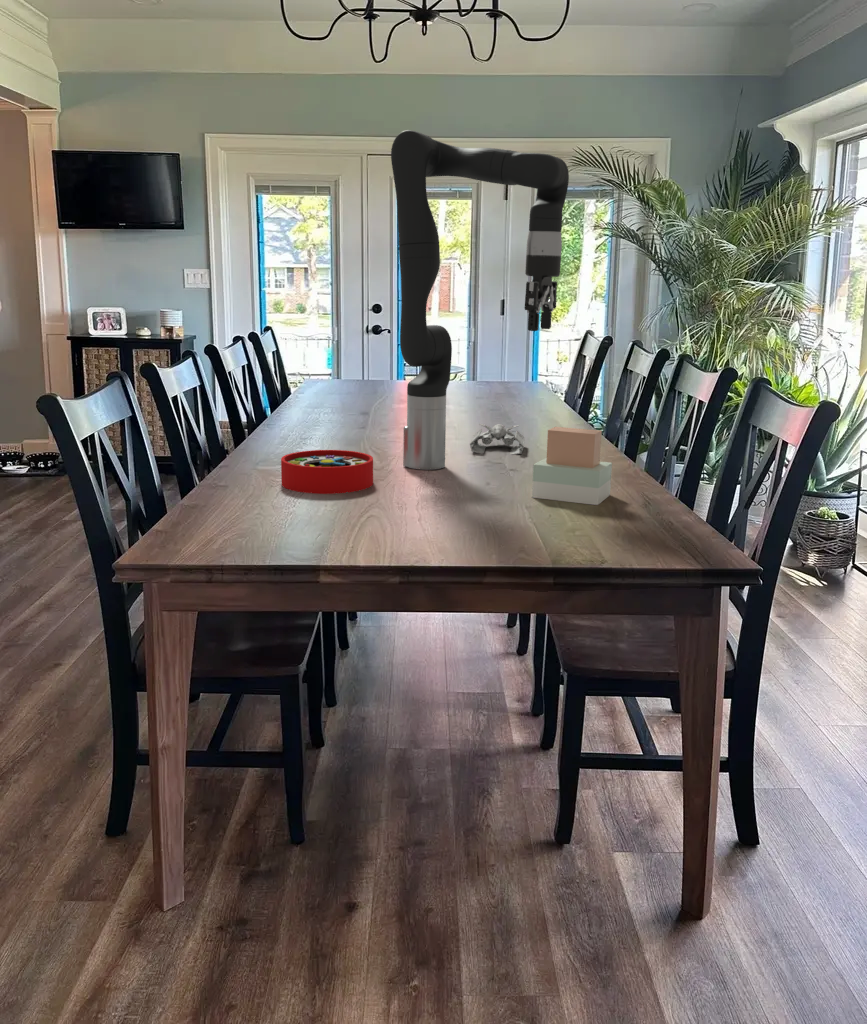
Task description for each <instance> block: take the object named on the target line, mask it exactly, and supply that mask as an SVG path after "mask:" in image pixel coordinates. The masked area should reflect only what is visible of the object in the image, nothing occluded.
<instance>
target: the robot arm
mask: <svg viewBox="0 0 867 1024" xmlns="http://www.w3.org/2000/svg"><path fill="white" fill-rule="evenodd" d="M390 150H391V151H390V159H391V161H390V162H391V168H392V169H391V170H392V174H393V180H394V188H395V189H394V190H395V194H396V195H395V196H396V209H397V211H396V212H397V227H398V228H397V230H398V254H399V256H398V257H399V268H400V270H399V271H400V289H401V290H400V292H401V294H400V297H401V298H400V299H401V302H400V303H401V306H400V308H401V310H400V311H401V312H400V332H399V333H400V335H399V344H400V346H399V347H400V351H401V355H402V358H403V360H404V362H405V363H406V364H407V365H408V366H411V367H420V371H419V372H418V375H416V376H415V377H414V378H413V379H412V380H410V381H409V382H408V383H407V387H406V388H407V389H406V390H407V391H406V394H407V395H406V399H407V400H406V425H405V426H403V441H402V442H403V445H402V446H403V450H402V451H403V452H402V454H403V457H402V458H403V459H402V460H403V463H402V464H403V467H407V468H410V469H413V470H423V471H424V470H426V471H429V470H440V469H443V468H445V467H446V435H447V434H446V432H447V431H446V430H447V429H446V427H447V426H446V425H447V418H446V416H447V389H448V386H449V384H450V381H451V370H452V369H451V368H452V354H453V353H452V352H453V346H452V339H451V335H450V333H449V332H448V329H446V328H445V327H444V326H442V325H437V324H436V325H435V324H432V325H431V324H430V325H428V324H427V307H428V306H427V304H428V301H429V296H430V294H431V291H432V288H433V286H434V284H435V282H436V280H437V276H438V274H439V271H440V265H441V255H440V254H441V253H440V251H441V249H440V238H439V231H438V228H437V225H436V224H437V223H436V222H435V219H434V216H433V213H432V211H431V210H432V209H431V206H430V203H429V199H428V194H427V178H433V177H459V178H465V179H469V180H471V179H472V180H476V181H480V182H485V183H491V184H492V183H493V184H497V185H503V186H504V185H506V186H523V187H526V188H532V189H536V197H535V202H534V203H533V205H531V207H530V211H529V222H528V224H529V225H528V235H527V240H526V254H525V255H526V256H525V271H524V272H525V275H526V276H527V277H532V281H530V280H529V281H526V284H525V296H524V297H525V299H524V307H523V308H524V311H527V313H528V317H527V318H528V319H527V321H528V322H527V330H528V331H529V332H537V331H539V324H540V329H541V330H551V327H552V315H553V313H552V312H554V309H556V308H557V293H558V292H557V291H558V289H557V288H558V281H553V278H557V277H560V275H561V264H562V263H561V262H562V251H563V250H562V249H563V248H562V247H563V245H562V244H563V241H562V229H563V228H562V227H563V209H564V205H565V202H566V198H567V194H568V193H567V192H568V187H569V181H570V179H569V178H570V175H569V168H568V165H567V164H566V162H565V161H564V160H563V159H561V157H557V156H554V155H551V154H549V153H548V154H547V153H538V152H537V153H536V152H519V151H517V150H511V149H510V150H509V149H503V148H502V149H501V148H492V147H462V146H461V147H460V146H455V145H451V144H447V143H444V142H442V141H440V140H439V141H438V140H436V139H434V138H432V137H431V136H429V135H426V134H425V133H422V132H419V131H416V130H411V129H407V130H402V131H401V132H400V133H399V134H397V135H396V136H395V138H394V139H393V143H392V145H391V148H390ZM540 312H541V313H540ZM540 315H541V316H540Z"/></svg>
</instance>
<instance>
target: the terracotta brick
mask: <svg viewBox="0 0 867 1024" xmlns="http://www.w3.org/2000/svg"><path fill="white" fill-rule="evenodd" d="M546 440H547V441H546V444H547V445H546V457H547V460H546V463H548V464H558V465H568V466H578V467H587V468H594V467H596V466H597V465H599V464H600V462H601V451H602V450H601V447H602V446H601V445H602V430H597V429H585V428H576V427H575V428H574V427H563V426H554V427H552V428H549V429H547V439H546Z"/></svg>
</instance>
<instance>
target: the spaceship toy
mask: <svg viewBox="0 0 867 1024" xmlns="http://www.w3.org/2000/svg"><path fill="white" fill-rule="evenodd" d="M478 425H479V426H481V427H485V428H486V429H487V431H485V432H482V431H483V429H482V428H481V429H479V430H478V431H477V432H476V433H475V434H474V435H473V436H472V438H471V441H470V442H469V446H470V451H471V452H472V453H477V454H481V455H482V454H484V453H485V450H486V447H487V445H490V444H491V443H492V442H494V440H498V441H500V442H503V443H504V445H506V446H512V445H514V441H517V442H518V443H519V444H517V445H516V446H515V445H514V446H512V447H510V453H509V455H510V456H511V455H513V456H517V455H522V453H523V450H524V447H525V441H526V437H525V436H524V435H522V434H521V432H519V431H518V430H516V431H515V433H513V432H511V431H512V429H514V428H516V427H519V426H520V425H519V424H518V425H512V426H510V427H508V428H507V427H506V426H505V425H503V424H501V423H499V424H498V423H497V424H495V425H493V426H492V427H490V426H488V425H486V424H485V423H479V424H478ZM480 440H481V441H482V444H481V443H479V441H480Z"/></svg>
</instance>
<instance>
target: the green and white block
mask: <svg viewBox="0 0 867 1024" xmlns="http://www.w3.org/2000/svg"><path fill="white" fill-rule="evenodd" d="M546 460H547V456H546V457H544V458H543V459H541V460H539V461H537V462H536V463H533V467H532V487H531V489H532V491H531V492H532V493H531V498H532V499H533V498H535V499H543V500H551V501H557V502H558V501H559V502H569V503H576V504H577V503H578V504H585V505H593V506H594V505H595V506H599V505H600V504H601V503H602V502H603V501H605V500H606V499H607V498H608V497H610V496H611V485H612V470H613V462H609V461H608V462H607V461H600V464H599V465H597V466H596V467H594V468H587V467H578V466H568V465H558V464H548V463H546Z"/></svg>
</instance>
